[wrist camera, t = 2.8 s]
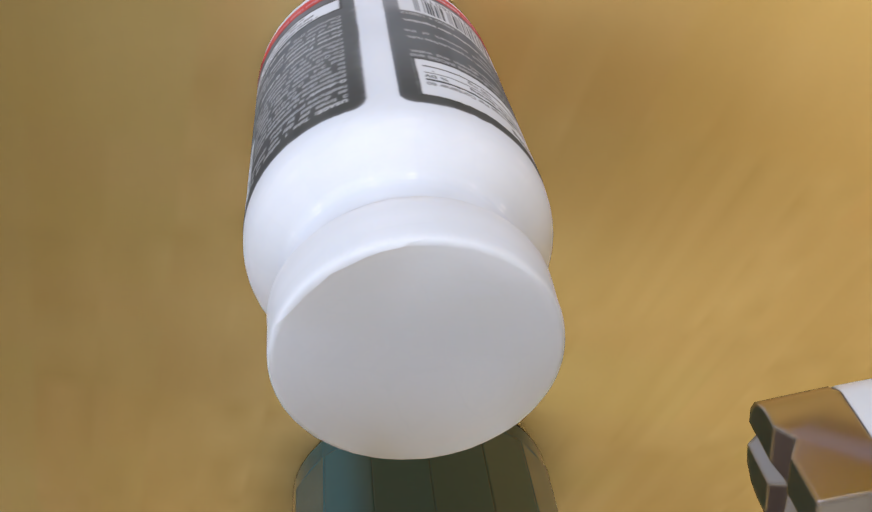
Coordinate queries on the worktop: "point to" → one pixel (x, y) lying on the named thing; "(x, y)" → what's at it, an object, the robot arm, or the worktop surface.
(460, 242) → the pill bottle
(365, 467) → the holder
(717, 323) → the worktop surface
